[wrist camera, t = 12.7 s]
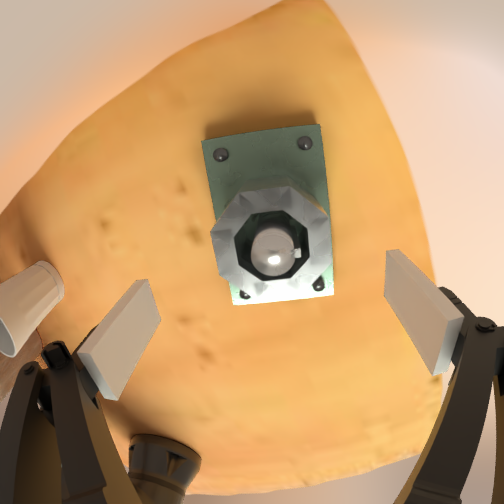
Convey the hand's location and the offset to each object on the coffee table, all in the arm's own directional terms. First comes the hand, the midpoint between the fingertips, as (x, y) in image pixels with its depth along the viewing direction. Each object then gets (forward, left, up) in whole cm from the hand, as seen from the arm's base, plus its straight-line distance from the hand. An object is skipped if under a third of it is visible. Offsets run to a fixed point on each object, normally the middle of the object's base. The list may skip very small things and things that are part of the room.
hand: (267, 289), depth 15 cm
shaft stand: (0, 0, -13) cm, 13 cm away
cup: (-31, -4, -13) cm, 33 cm away
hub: (0, 0, -11) cm, 11 cm away
